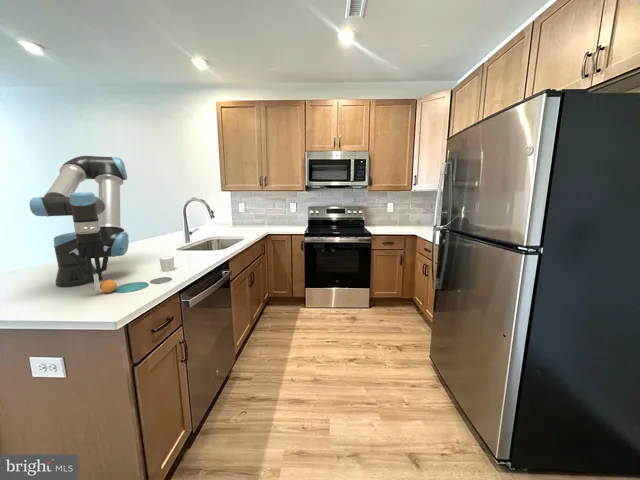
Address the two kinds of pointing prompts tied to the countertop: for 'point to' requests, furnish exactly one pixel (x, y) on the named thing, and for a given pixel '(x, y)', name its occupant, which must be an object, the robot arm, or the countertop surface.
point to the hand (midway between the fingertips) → (97, 288)
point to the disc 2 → (160, 280)
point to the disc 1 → (131, 287)
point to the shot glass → (167, 264)
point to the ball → (108, 286)
